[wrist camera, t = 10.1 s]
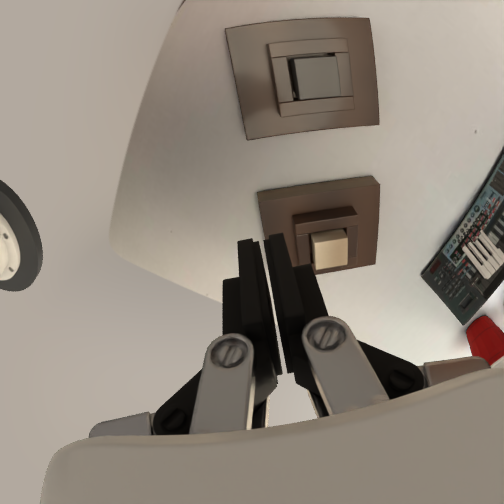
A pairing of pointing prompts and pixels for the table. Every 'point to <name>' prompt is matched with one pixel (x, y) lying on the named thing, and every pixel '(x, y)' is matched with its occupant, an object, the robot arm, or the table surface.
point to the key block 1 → (281, 79)
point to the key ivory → (329, 248)
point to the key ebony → (316, 77)
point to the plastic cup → (487, 341)
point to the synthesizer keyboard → (473, 253)
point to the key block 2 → (325, 218)
